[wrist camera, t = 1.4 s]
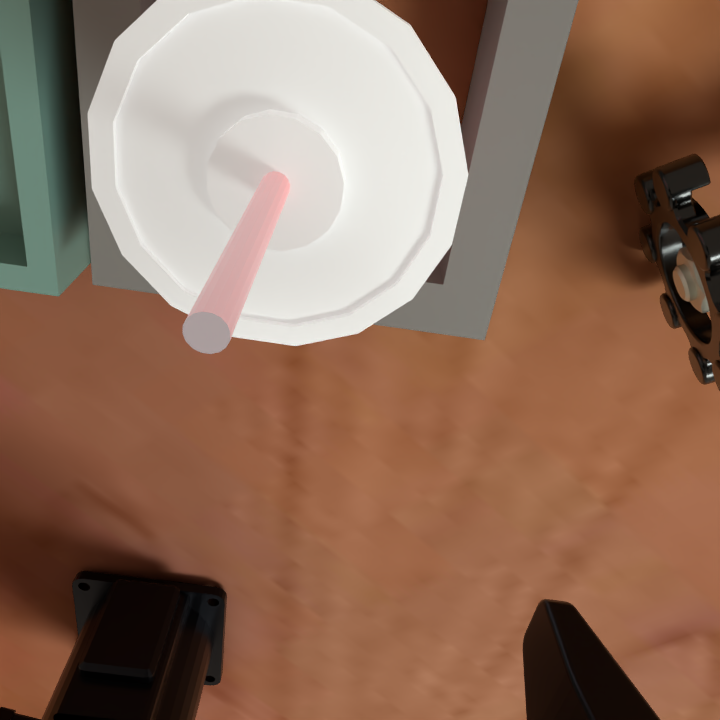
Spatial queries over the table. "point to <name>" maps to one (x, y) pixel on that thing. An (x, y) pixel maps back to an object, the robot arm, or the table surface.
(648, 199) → the valve
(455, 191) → the beverage cup
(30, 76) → the tray
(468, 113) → the holder block
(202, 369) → the table surface
